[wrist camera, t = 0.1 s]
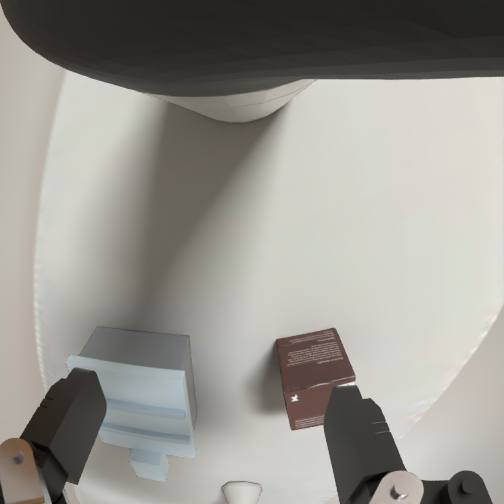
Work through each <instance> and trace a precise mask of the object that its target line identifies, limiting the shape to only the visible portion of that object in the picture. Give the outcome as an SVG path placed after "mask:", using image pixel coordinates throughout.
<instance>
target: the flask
mask: <svg viewBox="0 0 504 504" xmlns="http://www.w3.org/2000/svg"><path fill="white" fill-rule="evenodd" d="M222 489H223V492H224V495H225V497H226V500H227V502H228V504H257V502H258V500H259V497H260V495H261V492H262V488H261V485H260V484H254V483H249V482H229V483H227V484H226V485H224V486H223V487H222Z"/></svg>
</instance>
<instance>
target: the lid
mask: <svg viewBox="0 0 504 504" xmlns="http://www.w3.org/2000/svg"><path fill="white" fill-rule="evenodd" d="M65 363H66V365H67V368H68V370H69V373H70V372H71V371H72V369H73V368H75V367H78V368H82V369H87V370H92V371H95V372H96V373H97V376H98V379H99V382H100V385H101V387H102V390H103V393H104V396H105V399H106V403H107V411H106V415H105V418H104V420H103V423H102V425H101V427H100V430H99V432H98V434H99V436H100V438H101V440H102V442H103V443H107V444H111V445H116V446H120V447H125V448H130V449H131V453H130V456H129V462H130V464H131V466H132V468H133V470H134V471H135V473H136V475H137V477H141V478H146V479H151V480H157V481H163V482H166V478H167V473H168V467H169V460H168V457H167V455H172V456H180V457H189V458H196V450H197V449H196V444H195V438H194V432H193V426H192V420H191V413H190V407H189V400H188V393H187V385H186V378H185V371H181V370H171V369H161V368H152V367H144V366H136V365H129V364H122V363H115V362H109V361H103V360H97V359H92V358H86V357H81V356H76V355H70V356H69V358H68V359H67V361H66V362H65Z"/></svg>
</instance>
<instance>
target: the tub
mask: <svg viewBox="0 0 504 504" xmlns="http://www.w3.org/2000/svg"><path fill="white" fill-rule="evenodd" d="M79 356H81V357H86V358H92V359H97V360H103V361H109V362H115V363H122V364H129V365H136V366H144V367H152V368H161V369H171V370H181V371H185V378H186V385H187V393H188V400H189V407H190V413H191V420H192V426H193V432H194V428H195V421H196V415H197V407H196V399H195V391H194V382H193V372H192V362H191V352H190V341H189V336H184V335H171V334H160V333H149V332H139V331H130V330H121V329H113V328H105V327H97V328H96V330H95V331H94V333H93V334H92V336H91V337H90V339H89V340H88V342H87V344H86V345H85V347H84V348H83V350H82V351H81V353H80V355H79Z"/></svg>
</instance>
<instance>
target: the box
mask: <svg viewBox="0 0 504 504" xmlns="http://www.w3.org/2000/svg"><path fill="white" fill-rule="evenodd" d="M277 350H278V357H279V364H280V371H281V380H282V387H283V394H284V399H285V404H286V409H287V414H288V418H289V423H290V427H291V430H292V431H293V430H298V429H303V428H309V427H314V426H319V425H324V415H325V411H326V408H327V405H328V402H329V398H330V395H331V392H332V389H333V387H334V386H348V385H355V379H356V376H355V373H354V371H353V369H352V366H351V364H350V361H349V359H348V356H347V354H346V352H345V349H344V347H343V344H342V342H341V340H340V337H339V335H338V333H337V331H336V329H335V328H331V329H327V330H322V331H317V332H313V333H307V334H303V335H297V336H292V337H287V338H281V339H277Z"/></svg>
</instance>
